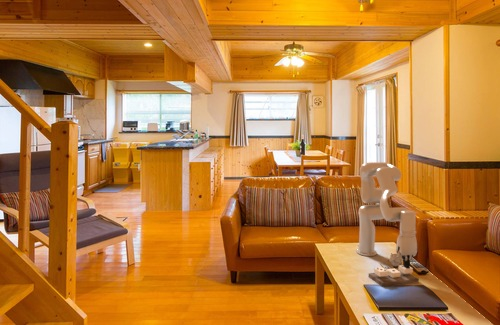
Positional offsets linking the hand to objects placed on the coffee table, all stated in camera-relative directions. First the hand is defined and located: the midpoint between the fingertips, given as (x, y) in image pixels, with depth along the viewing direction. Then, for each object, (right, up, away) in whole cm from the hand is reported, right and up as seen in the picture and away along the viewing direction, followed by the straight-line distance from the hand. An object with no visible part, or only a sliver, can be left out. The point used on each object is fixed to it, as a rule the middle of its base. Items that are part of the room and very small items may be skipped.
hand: (406, 267), depth 181 cm
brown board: (-7, -7, -1) cm, 10 cm away
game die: (+2, -5, +17) cm, 18 cm away
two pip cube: (0, -3, +1) cm, 3 cm away
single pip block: (-7, -4, -1) cm, 9 cm away
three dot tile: (-15, -3, -3) cm, 15 cm away
